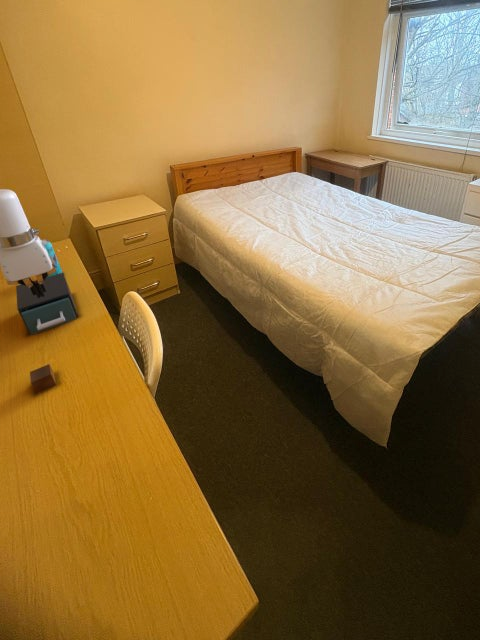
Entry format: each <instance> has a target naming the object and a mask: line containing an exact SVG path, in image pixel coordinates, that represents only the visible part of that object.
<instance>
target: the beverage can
mask: <svg viewBox="0 0 480 640" xmlns="http://www.w3.org/2000/svg"><path fill="white" fill-rule="evenodd" d="M40 240H41V241H42V243H43V244H44V246H45V248H46V250H47V252H48V254H49V256H50V259H51V261H52V265H53V266H54V267H55V268H56V272H54V273H52V274H50V275H48V276H47V277H50V276H53V275H57V274H60V273H63V270H62V268H61V266H60V265H61V264H60V262H59V260H58V257H57V255H56V253H55V250H54V246H53V244H52V242H50V240H49V239H45V238H44V239H40Z"/></svg>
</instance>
